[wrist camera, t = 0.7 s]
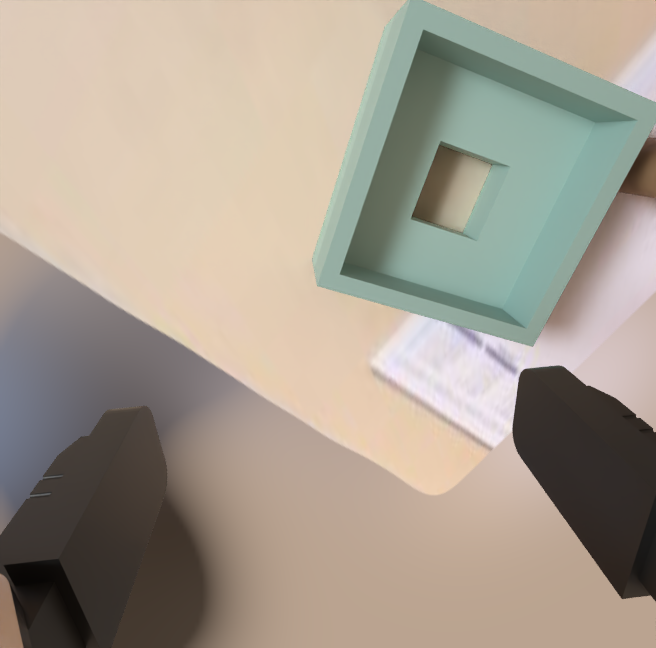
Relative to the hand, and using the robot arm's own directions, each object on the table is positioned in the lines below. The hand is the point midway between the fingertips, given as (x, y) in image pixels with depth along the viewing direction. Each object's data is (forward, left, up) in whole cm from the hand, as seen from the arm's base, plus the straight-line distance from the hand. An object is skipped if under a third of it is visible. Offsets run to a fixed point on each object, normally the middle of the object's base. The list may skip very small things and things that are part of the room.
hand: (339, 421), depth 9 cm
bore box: (-5, +10, -27) cm, 29 cm away
